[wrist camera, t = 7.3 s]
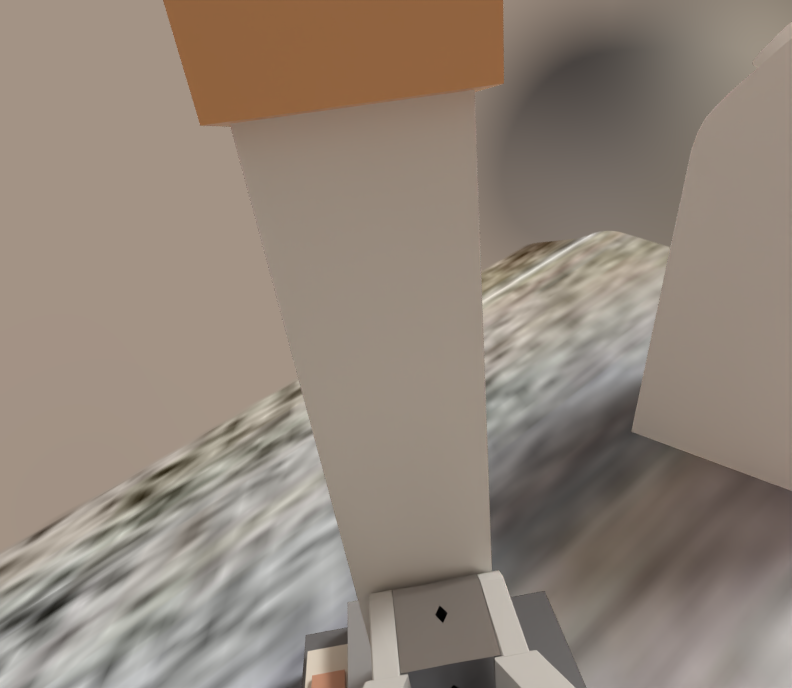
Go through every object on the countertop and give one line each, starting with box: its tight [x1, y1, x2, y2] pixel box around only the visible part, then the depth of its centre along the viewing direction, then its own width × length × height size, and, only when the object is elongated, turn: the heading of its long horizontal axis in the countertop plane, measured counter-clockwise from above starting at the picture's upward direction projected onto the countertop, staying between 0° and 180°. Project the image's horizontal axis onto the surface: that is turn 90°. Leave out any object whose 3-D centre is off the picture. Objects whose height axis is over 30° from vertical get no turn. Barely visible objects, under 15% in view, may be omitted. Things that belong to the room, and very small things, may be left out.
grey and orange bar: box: [163, 0, 504, 646], centre depth 10 cm, size 3×3×20 cm
